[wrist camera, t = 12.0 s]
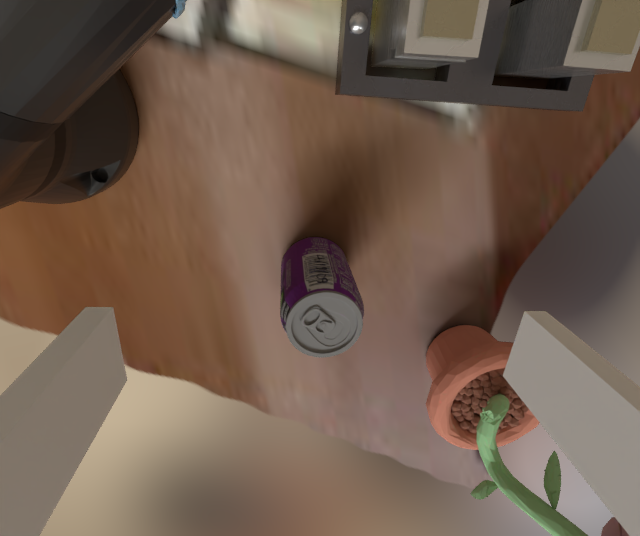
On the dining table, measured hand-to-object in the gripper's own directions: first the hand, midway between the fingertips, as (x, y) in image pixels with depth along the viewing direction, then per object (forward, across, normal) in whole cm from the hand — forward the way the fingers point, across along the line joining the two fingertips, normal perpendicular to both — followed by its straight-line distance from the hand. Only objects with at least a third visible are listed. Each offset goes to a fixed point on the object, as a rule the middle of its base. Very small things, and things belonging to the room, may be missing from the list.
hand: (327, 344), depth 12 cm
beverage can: (+27, +2, -9) cm, 28 cm away
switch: (+27, +14, +13) cm, 33 cm away
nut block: (+27, +8, +13) cm, 31 cm away
